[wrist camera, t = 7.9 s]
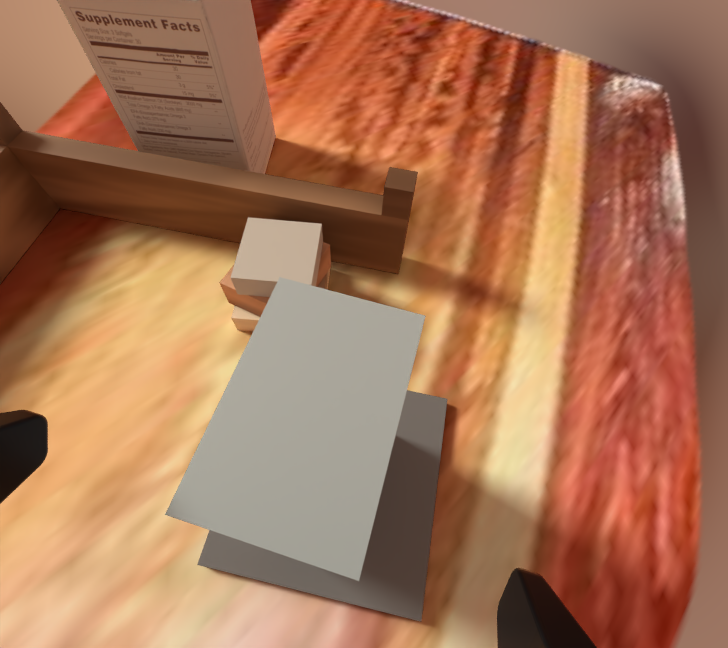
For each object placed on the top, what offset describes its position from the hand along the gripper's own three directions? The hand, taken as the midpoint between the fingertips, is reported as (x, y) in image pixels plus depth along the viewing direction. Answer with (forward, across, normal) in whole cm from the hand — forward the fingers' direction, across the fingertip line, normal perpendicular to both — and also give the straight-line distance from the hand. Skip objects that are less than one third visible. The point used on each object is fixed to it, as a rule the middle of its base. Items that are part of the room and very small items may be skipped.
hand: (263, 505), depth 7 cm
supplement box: (+25, +15, -6) cm, 30 cm away
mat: (+11, 0, +8) cm, 14 cm away
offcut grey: (+15, +6, -1) cm, 16 cm away
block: (+11, 0, +7) cm, 13 cm away
